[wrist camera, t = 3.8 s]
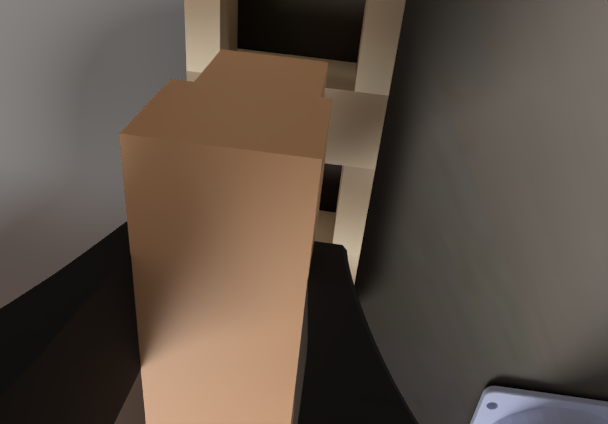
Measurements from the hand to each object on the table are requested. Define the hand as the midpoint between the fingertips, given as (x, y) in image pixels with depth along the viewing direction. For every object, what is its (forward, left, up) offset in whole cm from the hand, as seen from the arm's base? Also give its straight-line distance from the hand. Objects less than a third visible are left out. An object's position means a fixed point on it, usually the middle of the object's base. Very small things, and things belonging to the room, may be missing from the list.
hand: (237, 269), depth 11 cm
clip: (-1, 0, -4) cm, 4 cm away
